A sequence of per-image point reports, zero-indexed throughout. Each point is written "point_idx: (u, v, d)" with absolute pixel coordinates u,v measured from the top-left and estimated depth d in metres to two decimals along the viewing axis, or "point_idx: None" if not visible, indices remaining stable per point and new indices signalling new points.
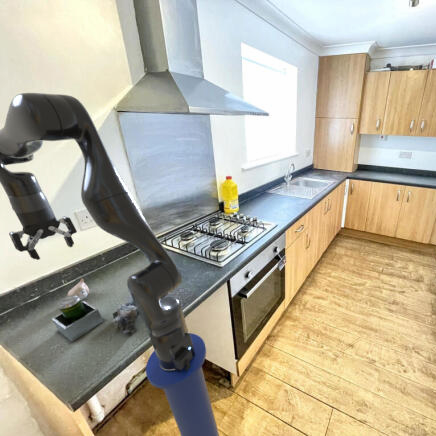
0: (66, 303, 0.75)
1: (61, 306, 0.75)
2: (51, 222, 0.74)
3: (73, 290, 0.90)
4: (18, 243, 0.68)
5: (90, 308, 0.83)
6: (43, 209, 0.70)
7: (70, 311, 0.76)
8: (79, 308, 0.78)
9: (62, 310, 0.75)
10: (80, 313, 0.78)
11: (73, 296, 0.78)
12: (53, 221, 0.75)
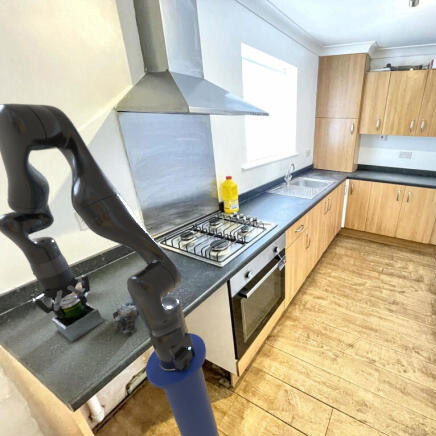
0: (65, 303, 0.75)
1: (61, 306, 0.75)
2: (70, 280, 0.75)
3: None
4: (43, 307, 0.70)
5: (90, 308, 0.83)
6: (63, 272, 0.71)
7: (70, 311, 0.76)
8: (79, 308, 0.78)
9: (62, 310, 0.75)
10: (80, 313, 0.78)
11: (73, 296, 0.78)
12: (72, 279, 0.76)
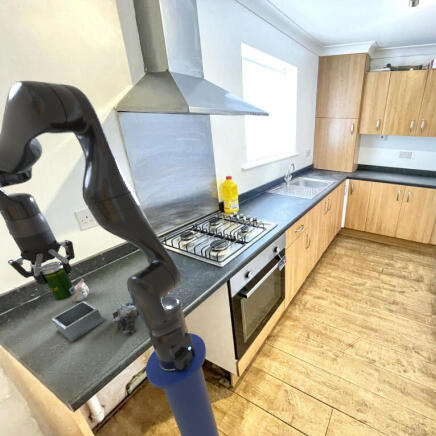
0: (47, 269, 0.69)
1: (42, 272, 0.69)
2: (52, 244, 0.70)
3: None
4: (21, 270, 0.65)
5: (90, 308, 0.83)
6: (43, 232, 0.66)
7: (52, 277, 0.70)
8: (63, 275, 0.72)
9: (43, 276, 0.69)
10: (63, 281, 0.72)
11: (56, 262, 0.72)
12: (54, 243, 0.70)
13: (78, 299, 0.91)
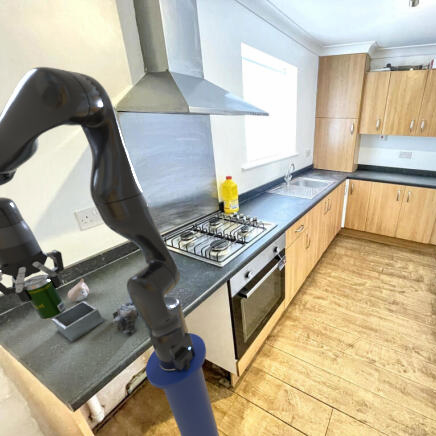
0: (31, 284, 0.61)
1: (25, 287, 0.60)
2: (37, 255, 0.61)
3: (73, 290, 0.90)
4: None
5: (90, 308, 0.83)
6: (25, 243, 0.57)
7: (37, 293, 0.61)
8: (50, 290, 0.63)
9: (27, 292, 0.60)
10: (51, 297, 0.64)
11: (42, 276, 0.64)
12: (40, 254, 0.61)
13: (78, 299, 0.91)
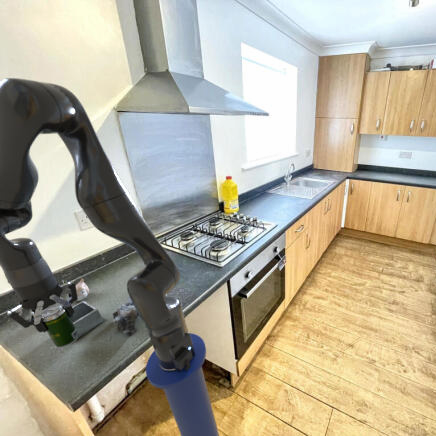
0: (48, 315, 0.65)
1: (43, 319, 0.64)
2: (53, 289, 0.65)
3: None
4: (20, 321, 0.60)
5: (90, 308, 0.83)
6: (44, 279, 0.61)
7: (53, 324, 0.65)
8: (65, 320, 0.67)
9: (44, 323, 0.64)
10: (65, 326, 0.68)
11: (57, 306, 0.68)
12: (56, 287, 0.65)
13: (78, 299, 0.91)
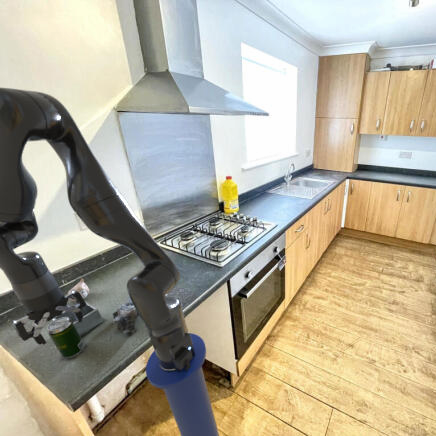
0: (55, 328, 0.67)
1: (50, 331, 0.66)
2: (58, 301, 0.66)
3: None
4: (22, 332, 0.60)
5: (90, 308, 0.83)
6: (50, 291, 0.62)
7: (60, 336, 0.67)
8: (71, 332, 0.69)
9: (51, 335, 0.66)
10: (72, 338, 0.70)
11: (64, 318, 0.70)
12: (61, 299, 0.67)
13: None
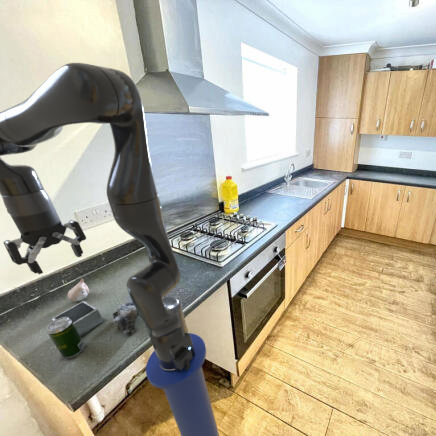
0: (55, 328, 0.67)
1: (50, 331, 0.66)
2: (56, 227, 0.61)
3: (73, 290, 0.90)
4: (15, 254, 0.55)
5: (90, 308, 0.83)
6: (46, 212, 0.57)
7: (60, 336, 0.67)
8: (71, 332, 0.69)
9: (51, 335, 0.66)
10: (72, 338, 0.70)
11: (64, 318, 0.70)
12: (58, 226, 0.61)
13: (78, 299, 0.91)
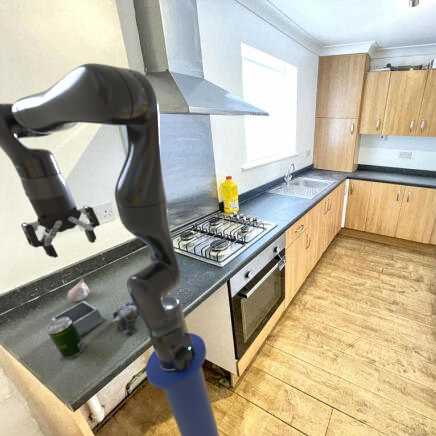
0: (55, 328, 0.67)
1: (50, 331, 0.66)
2: (71, 212, 0.61)
3: (73, 290, 0.90)
4: (32, 236, 0.55)
5: (90, 308, 0.83)
6: (63, 196, 0.57)
7: (60, 336, 0.67)
8: (71, 332, 0.69)
9: (51, 335, 0.66)
10: (72, 338, 0.70)
11: (64, 318, 0.70)
12: (73, 211, 0.62)
13: (78, 299, 0.91)
